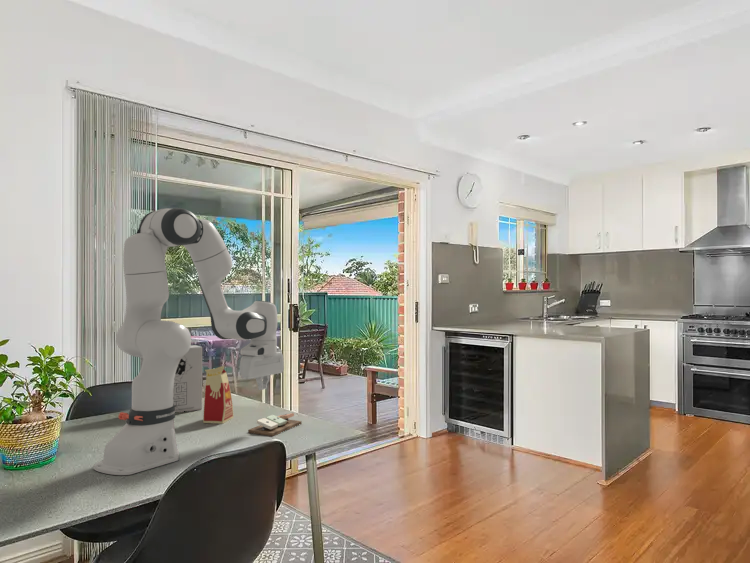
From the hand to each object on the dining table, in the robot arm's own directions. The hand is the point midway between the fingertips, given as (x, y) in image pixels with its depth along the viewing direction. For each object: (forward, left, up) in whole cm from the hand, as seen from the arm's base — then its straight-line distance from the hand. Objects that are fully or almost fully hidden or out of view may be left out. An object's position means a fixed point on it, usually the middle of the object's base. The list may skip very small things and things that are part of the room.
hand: (262, 389), depth 177 cm
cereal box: (+7, +49, -14) cm, 52 cm away
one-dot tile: (-1, -3, -12) cm, 12 cm away
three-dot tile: (+9, -3, -12) cm, 15 cm away
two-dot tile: (+4, -3, -12) cm, 13 cm away
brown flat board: (+4, -3, -14) cm, 15 cm away
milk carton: (+4, +23, -14) cm, 28 cm away
